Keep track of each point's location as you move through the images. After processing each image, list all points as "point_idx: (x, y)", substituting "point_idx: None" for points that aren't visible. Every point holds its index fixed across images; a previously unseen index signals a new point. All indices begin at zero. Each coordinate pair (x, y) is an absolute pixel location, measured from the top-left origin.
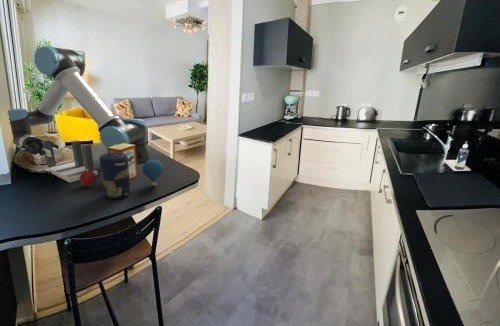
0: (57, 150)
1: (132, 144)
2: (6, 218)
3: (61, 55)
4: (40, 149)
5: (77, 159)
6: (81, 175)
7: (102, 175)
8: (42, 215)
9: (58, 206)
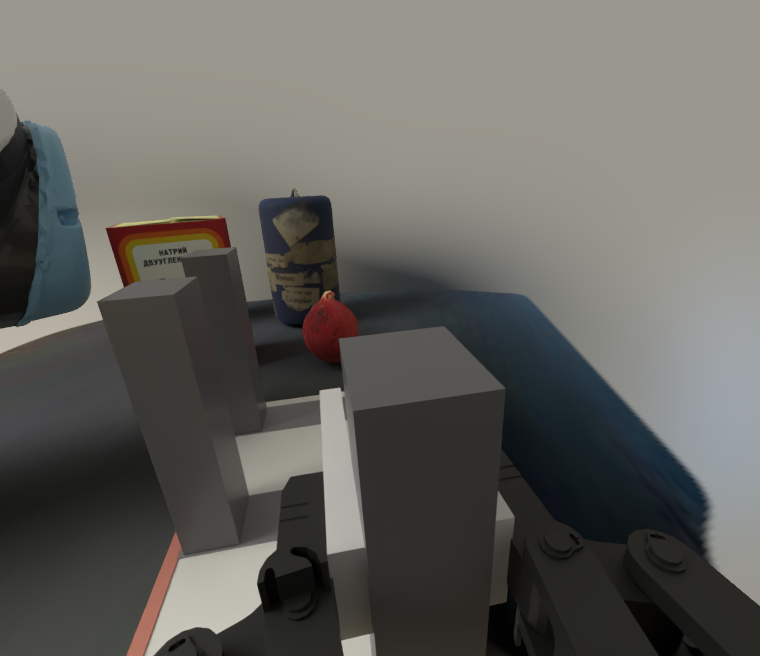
0: (336, 395)
1: (117, 224)
2: (545, 319)
3: None
4: (542, 525)
5: (233, 436)
6: (350, 311)
7: (335, 249)
8: (473, 311)
9: (441, 321)
